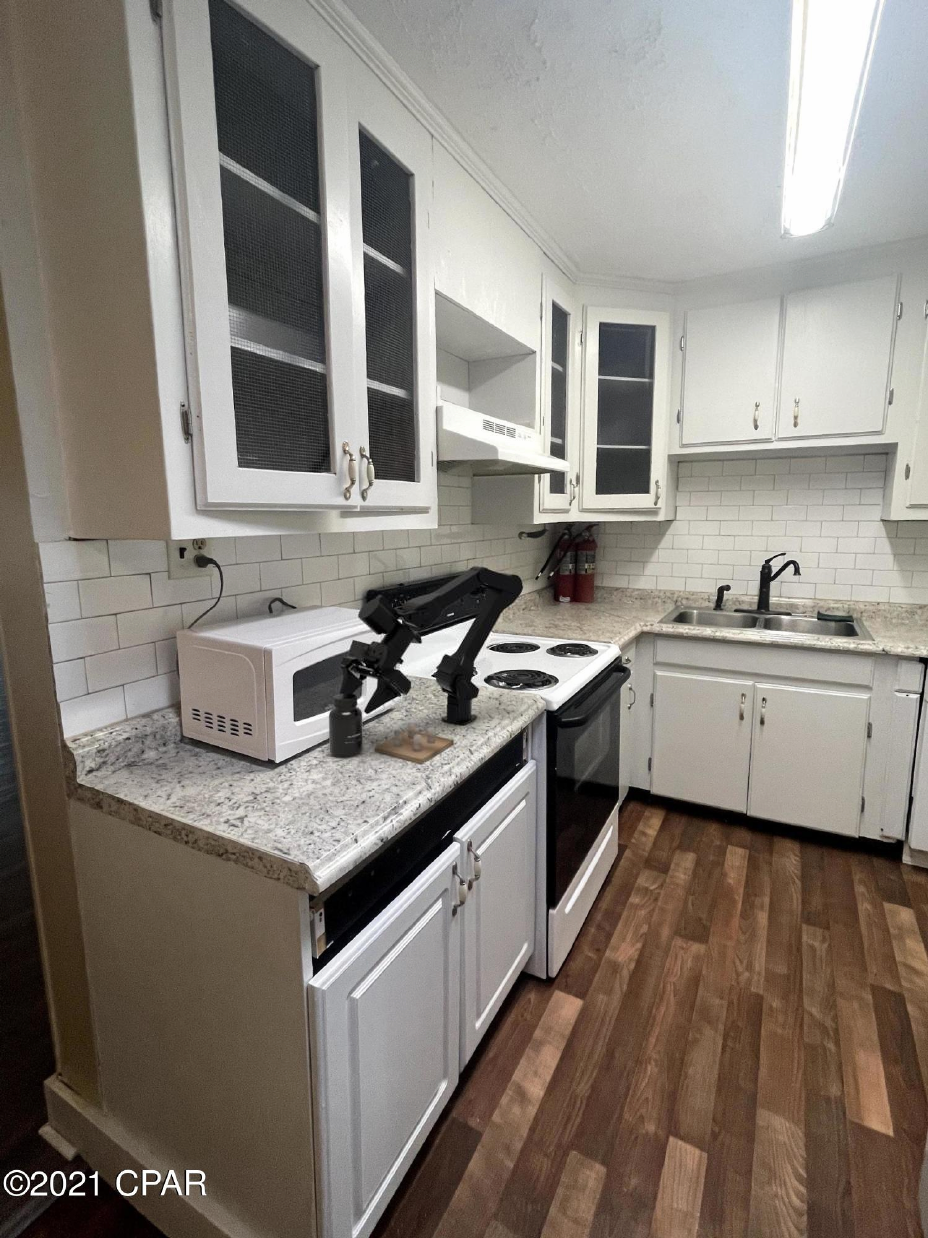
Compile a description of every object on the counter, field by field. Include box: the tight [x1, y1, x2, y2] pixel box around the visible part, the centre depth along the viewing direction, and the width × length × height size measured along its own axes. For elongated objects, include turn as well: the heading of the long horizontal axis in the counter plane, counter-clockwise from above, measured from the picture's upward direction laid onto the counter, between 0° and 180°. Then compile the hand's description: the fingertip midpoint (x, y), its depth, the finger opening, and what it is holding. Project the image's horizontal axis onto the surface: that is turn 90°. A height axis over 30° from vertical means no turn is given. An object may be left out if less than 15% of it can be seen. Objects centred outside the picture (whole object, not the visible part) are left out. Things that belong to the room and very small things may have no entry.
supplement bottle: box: [328, 693, 364, 758], centre depth 122 cm, size 7×7×12 cm
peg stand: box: [374, 722, 455, 765], centre depth 124 cm, size 12×12×4 cm
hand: (351, 707), depth 122 cm, fingers open, 9 cm apart
